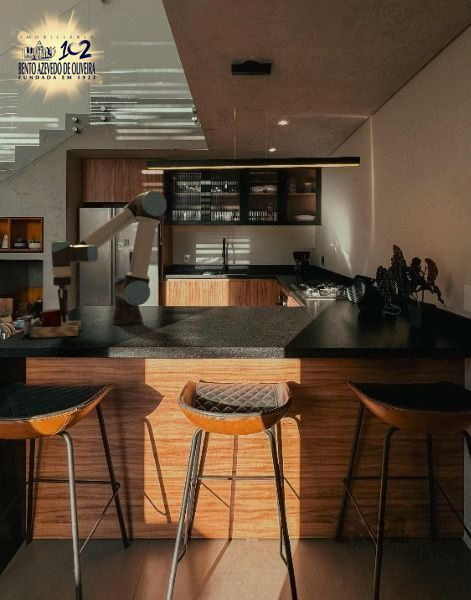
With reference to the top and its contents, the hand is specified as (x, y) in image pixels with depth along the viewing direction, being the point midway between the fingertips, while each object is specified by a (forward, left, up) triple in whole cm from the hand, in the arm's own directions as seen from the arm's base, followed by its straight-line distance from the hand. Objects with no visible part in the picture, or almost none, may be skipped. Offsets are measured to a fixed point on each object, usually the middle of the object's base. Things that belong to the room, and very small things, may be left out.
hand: (65, 329), depth 220 cm
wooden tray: (+3, 0, -2) cm, 3 cm away
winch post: (+15, 0, -2) cm, 15 cm away
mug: (+5, 0, -2) cm, 6 cm away
